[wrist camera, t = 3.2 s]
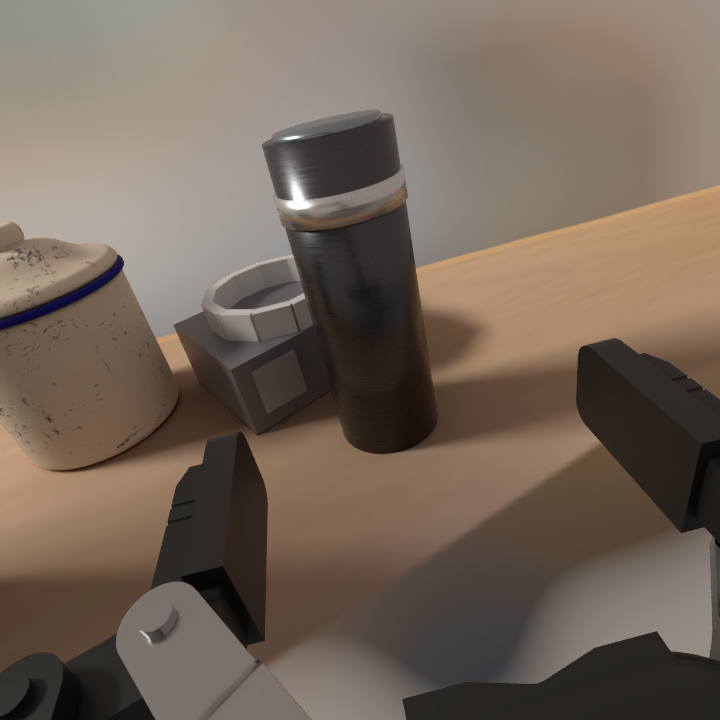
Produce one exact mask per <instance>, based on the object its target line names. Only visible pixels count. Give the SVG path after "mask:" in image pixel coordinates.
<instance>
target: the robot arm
mask: <svg viewBox="0 0 720 720" xmlns="http://www.w3.org/2000/svg"><path fill="white" fill-rule="evenodd" d="M576 402H577V408H578V411H579V414H580V416H581V418H582V420H583V422H584V423H585V425H586V426H587V427H588V428H589V429H590V430H591V432H592V433H593V434H594V435H595V436H596V437H597V438H598V439H599V441H600V442H601V443H602V444H603V445H604V446H605V447H606V449H607V450H608V451H609V452H610V453H611V454H612V455H613V456H614V458H615V459H616V460H617V461H618V462H619V463H620V464H621V465H622V467H623V468H624V469H625V470H626V471H627V472H628V473H629V475H630V476H631V477H632V478H633V479H634V480H635V481H636V482H637V483H638V485H639V486H640V487H641V488H642V489H643V490H644V491H645V493H646V494H647V495H648V496H649V497H650V498H651V499H652V501H653V502H654V503H655V504H656V505H657V506H658V507H659V508H660V510H661V511H662V512H663V513H664V514H665V515H666V516H667V518H668V519H669V520H670V521H671V522H672V523H673V524H674V525H675V527H676V528H677V529H678V530H679V531H680V532H681V533H683V532H687V531H691V530H695V529H699V528H703V527H705V528H706V529H707V530H708V531H709V532H710V533H711V535H712V539H711V543H710V564H711V593H712V626H713V630H712V631H713V632H712V643H711V650H710V657H709V658H707V657H702V656H699V655H694V654H688V653H681V652H671V651H670V650H669V649H668V647H667V646H666V644H665V643H664V641H663V640H662V638H661V637H660V636H659V634H658V632H652V633H649V634H645V635H641V636H637V637H634V638H630V639H626V640H622V641H619V642H615V643H611V644H608V645H604V646H600V647H596V648H594V649H592V650H591V651H589V652H588V653H587V654H585V655H583V656H582V657H580V658H578V659H577V660H576V661H574V662H572V663H571V664H569V665H568V666H566V667H565V668H563V669H562V670H560V671H558V672H557V673H555V674H554V675H552V676H551V677H549V678H548V679H546V680H545V681H542V682H540V683H537V684H509V683H470V682H468V683H467V682H465V683H461V684H458V685H454V686H450V687H446V688H443V689H439V690H435V691H432V692H428V693H424V694H420V695H416V696H413V697H409V698H405V699H403V704H404V709H405V714H406V720H720V399H718V398H717V397H716V396H714V395H713V394H711V393H710V392H709V391H707V390H703V389H702V386H700V385H699V384H698V383H696V382H695V381H694V380H692V379H691V378H689V379H688V378H687V375H685V374H684V373H683V372H681V371H680V370H679V369H677V368H676V367H675V366H673V365H672V364H670V363H669V362H667V361H664V360H661V359H659V358H656V357H653V356H651V355H648V354H646V353H643V354H638V353H636V352H635V351H634V350H632V349H631V348H630V347H629V346H627V345H626V344H625V343H623V342H622V341H621V340H619V339H617V338H613V339H609V340H605V341H601V342H597V343H593V344H589V345H585V346H582V347H581V348H580V350H579V353H578V371H577V395H576ZM267 514H268V501H267V493H266V488H265V484H264V481H263V478H262V476H261V473H260V471H259V469H258V466H257V464H256V462H255V459H254V457H253V455H252V452H251V450H250V447H249V445H248V443H247V440H246V438H245V436H244V434H243V433H242V432H236V433H232V434H228V435H224V436H220V437H216V438H212V439H209V440H208V441H207V443H206V448H205V453H204V458H203V463H202V464H200V465H196V466H192V467H189V469H188V470H187V472H186V473H185V474H184V476H183V477H182V479H181V480H180V482H179V483H178V485H177V486H176V490H175V494H174V498H173V502H172V509H171V510H170V514H169V518H168V526H166V530H165V534H164V538H163V542H162V546H161V550H160V554H159V558H158V562H157V566H156V570H155V575H154V579H153V583H152V587H151V590H150V591H148V592H147V593H146V594H144V595H143V596H142V597H141V598H139V599H138V600H137V601H136V602H135V603H134V604H133V605H132V607H131V608H130V609H129V610H128V612H127V613H126V614H125V616H124V618H123V620H122V621H121V624H120V626H119V628H118V632H117V634H115V635H114V636H112V637H111V638H109V639H108V640H106V641H104V642H102V643H101V644H99V645H97V646H95V647H93V648H92V649H90V650H88V651H86V652H85V653H83V654H81V655H79V656H78V657H76V658H74V659H72V660H70V661H69V662H67V663H65V664H64V663H63V662H62V661H61V660H60V659H59V658H58V657H57V656H55V655H53V654H51V653H37V654H33V655H30V656H27V657H25V658H23V659H21V660H19V661H17V662H15V663H14V664H12V665H11V666H9V667H8V668H7V669H5V670H4V671H3V672H2V673H0V720H311V718H310V717H309V716H308V715H307V714H306V713H305V711H304V710H303V709H302V708H301V707H300V705H298V703H297V702H296V701H295V700H294V698H293V697H292V696H291V695H290V694H289V693H288V692H287V690H286V689H285V688H284V687H283V686H282V685H281V683H280V682H279V681H278V680H277V679H276V677H275V676H274V675H273V674H272V673H271V672H270V670H269V669H268V668H267V667H266V666H265V665H264V664H263V663H262V662H261V661H259V660H258V661H256V660H255V659H254V658H253V657H252V656H251V654H250V653H249V652H248V651H247V645H249V644H253V643H257V642H261V641H265V600H266V557H267Z"/></svg>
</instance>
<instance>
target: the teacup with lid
mask: <svg viewBox="0 0 720 720" xmlns="http://www.w3.org/2000/svg"><path fill="white" fill-rule="evenodd" d="M123 266H124V261H123V259H122V257H121V256H120V255H118V254H117V252H116V251H115V250H114V249H112V248H111V247H109V246H107V245H104V244H100V243H85V244H74V243H67V242H63V241H60V240H56V239H51V238H30V239H25V240H24V234H23V232H22V230H21V228H20V227H19V226H18V225H17V224H15V223H13V222H3V223H0V423H1V424H2V425H3V427H4V428H5V429H6V431H7V432H8V433H9V435H10V436H11V437H12V439H13V440H14V441H15V443H16V444H17V445H18V447H19V448H20V449H21V451H22V452H23V453H24V454H25V456H26V457H27V458H28V460H29V461H30V462H32V463H33V464H34V465H36V466H38V467H41V468H44V469H49V470H69V469H75V468H80V467H84V466H88V465H92V464H95V463H98V462H101V461H103V460H106V459H108V458H111V457H113V456H115V455H117V454H119V453H121V452H123V451H125V450H127V449H128V448H130V447H132V446H134V445H135V444H137V443H138V442H140V441H141V440H143V439H144V438H146V437H147V436H148V435H149V434H151V433H152V432H153V431H154V430H155V429H157V428H158V427H159V426H160V425H161V424H162V423H163V422H164V420H165V419H166V418H167V417H168V416H169V414H170V413H171V412H172V410H173V408H174V407H175V405H176V402H177V399H178V395H179V388H178V384H177V381H176V379H175V377H174V375H173V373H172V371H171V369H170V367H169V365H168V363H167V361H166V359H165V357H164V355H163V353H162V350H161V348H160V346H159V344H158V342H157V340H156V338H155V336H154V334H153V332H152V330H151V328H150V326H149V324H148V322H147V319H146V318H145V315H144V314H143V311H142V309H141V307H140V305H139V303H138V301H137V299H136V297H135V295H134V293H133V291H132V289H131V286H130V284H129V282H128V280H127V278H126V276H125V274H124V272H123V270H122V268H123Z"/></svg>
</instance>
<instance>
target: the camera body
mask: <svg viewBox="0 0 720 720" xmlns="http://www.w3.org/2000/svg"><path fill="white" fill-rule="evenodd" d="M202 308H203V310H204V311H203V312H201V313H199V314H197V315H195V316H192V317H190V318H188V319H186V320H184V321H181V322H179V323H177V324H175V325H174V327H175V330H176V332H177V334H178V336H179V338H180V341H181V343H182V345H183V347H184V349H185V352H186V354H187V356H188V358H189V361H190V363H191V365H192V367H193V369H194V372H195V374H196V376H197V378H198V380H199V382H200V383H202V384H203V385H204V386H205V387H206V388H207V389H208V390H209V391H210V392H211V393H212V394H213V395H215V396H216V397H217V398H218V399H219V400H220V401H221V402H222V403H223V404H224V405H225V406H226V407H228V408H229V409H230V410H231V411H232V412H233V413H234V414H235V415H236V416H237V417H238V418H239V419H241V420H242V421H243V422H244V423H245V424H246V425H247V426H248V427H249V428H250V429H251V430H253V431H254V432H255V433H256V434H257V435H258V434H260V433H262V432H263V431H265V430H266V429H268V428H270V427H271V426H273V425H275V424H276V423H278V422H280V421H281V420H283V419H284V418H286V417H288V416H289V415H291V414H293V413H294V412H296V411H297V410H299V409H301V408H302V407H304V406H306V405H307V404H309V403H310V402H312V401H314V400H315V399H317V398H319V397H320V396H322V395H324V394H325V393H327V392H328V391H330V390H331V387H330V383H329V380H328V376H327V373H326V369H325V366H324V362H323V359H322V355H321V352H320V348H319V345H318V341H317V338H316V334H315V331H314V327H313V323H312V320H311V316H310V313H309V309H308V306H307V302H306V299H305V295H304V292H303V288H302V285H301V281H300V278H299V274H298V271H297V267H296V264H295V260H294V257H293V255H289V256H283V257H279V258H274V259H271V260H266V261H262V262H258V263H257V264H253V265H251V266H248V267H246V268H243V269H241V270H239V271H236V272H234V273H232V274H230V275H228V276H226V277H224V278H223V279H221V280H220V281H219V282H218V283H216V284H215V285H213V286H212V287H211V288H209V289H208V290H207V291H206V293H205V296H204V299H203V302H202Z"/></svg>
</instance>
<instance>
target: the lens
mask: <svg viewBox="0 0 720 720" xmlns="http://www.w3.org/2000/svg"><path fill="white" fill-rule="evenodd" d="M262 147H263V151H264V154H265V158H266V161H267V165H268V168H269V172H270V175H271V179H272V182H273V186H274V189H275V193H274V195H273V196H274V200H275V203H276V207H277V210H278V214H279V217H280V221H281V224H282V226H283V227H285V228H286V232H287V235H288V239H289V242H290V246H291V249H292V253H293V257H294V260H295V264H296V267H297V271H298V274H299V278H300V281H301V285H302V288H303V292H304V295H305V299H306V302H307V306H308V309H309V313H310V316H311V320H312V323H313V327H314V331H315V334H316V338H317V341H318V345H319V348H320V352H321V355H322V359H323V362H324V366H325V369H326V373H327V376H328V380H329V383H330V387H331V390H332V394H333V398H334V401H335V405H336V408H337V412H338V415H339V419H340V422H341V426H342V429H343V433H344V436H345V438H346V439H347V441H348V442H349V443H350V444H351V445H352V446H354V447H356V448H358V449H360V450H362V451H366V452H370V453H379V454H383V453H394V452H399V451H402V450H405V449H408V448H411V447H413V446H415V445H417V444H418V443H420V442H421V441H423V440H424V439H425V438H426V437H428V436H429V434H430V433H431V432H432V431H433V429H434V427H435V425H436V422H437V410H436V403H435V396H434V389H433V383H432V376H431V369H430V362H429V355H428V349H427V342H426V335H425V328H424V322H423V315H422V308H421V301H420V294H419V288H418V281H417V274H416V267H415V261H414V254H413V247H412V240H411V233H410V227H409V220H408V213H407V207H406V199H407V197H408V195H407V188H406V181H405V174H404V168H403V165H402V164H400V160H399V152H398V145H397V139H396V132H395V125H394V119H393V115H392V114H388V113H383V114H381V112H380V110H367V111H359V112H353V113H347V114H342V115H337V116H333V117H328V118H324V119H320V120H315V121H312V122H308V123H304V124H301V125H297V126H294V127H291V128H288V129H285V130H282V131H279V132H277V133H275V134H273V135H272V139H271V140H268V141H266V142H265V143H263V144H262Z"/></svg>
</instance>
